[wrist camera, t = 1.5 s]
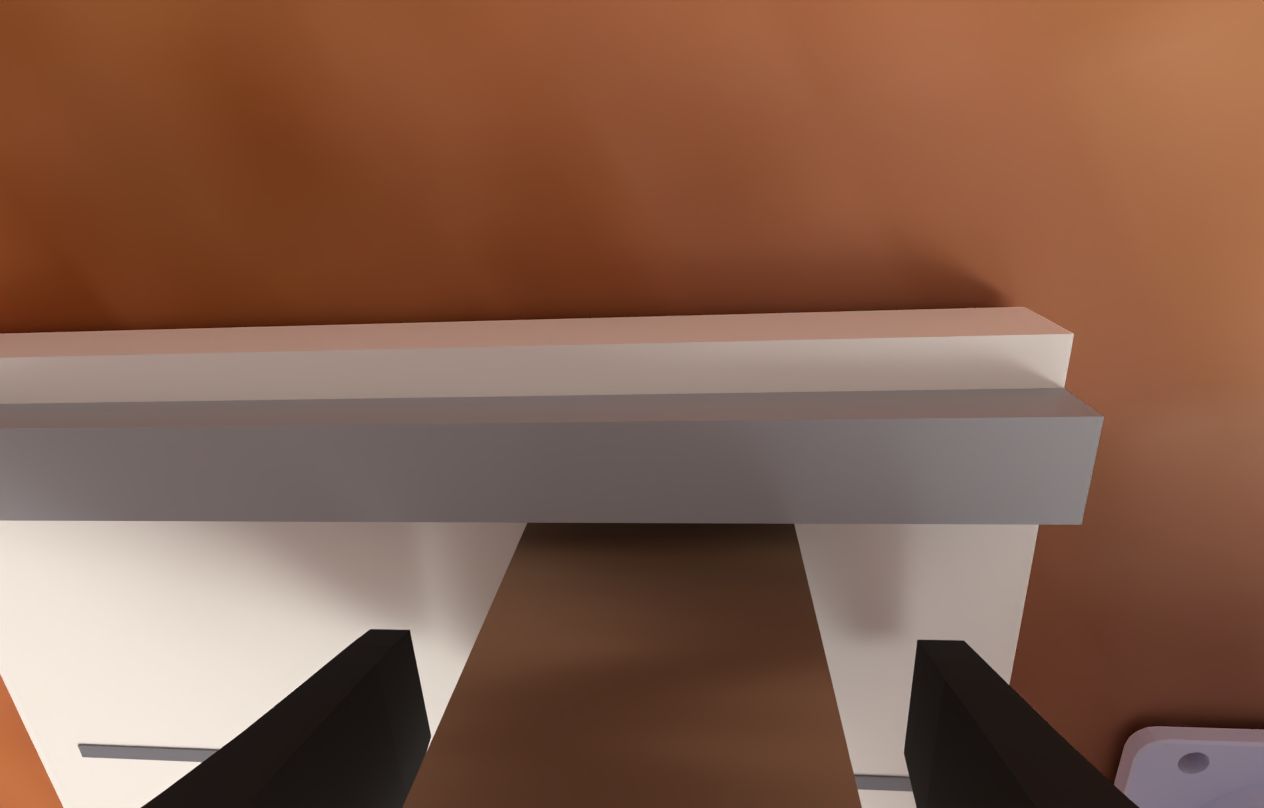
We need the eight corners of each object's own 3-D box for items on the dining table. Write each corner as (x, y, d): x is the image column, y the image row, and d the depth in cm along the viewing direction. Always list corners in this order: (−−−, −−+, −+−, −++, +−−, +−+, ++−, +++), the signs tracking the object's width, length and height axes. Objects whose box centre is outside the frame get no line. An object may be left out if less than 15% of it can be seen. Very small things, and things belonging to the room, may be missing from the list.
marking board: (1024, 306, 10) (1116, 356, 8) (928, 926, 16) (968, 1066, 13) (-52, 334, 12) (-227, 382, 10) (175, 881, 17) (93, 996, 15)
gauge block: (792, 518, 10) (897, 960, 5) (784, 724, 12) (859, 1247, 6) (529, 516, 11) (349, 924, 5) (552, 716, 12) (431, 1200, 7)
